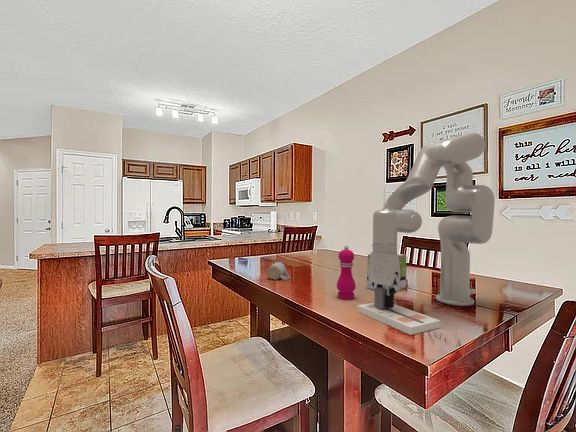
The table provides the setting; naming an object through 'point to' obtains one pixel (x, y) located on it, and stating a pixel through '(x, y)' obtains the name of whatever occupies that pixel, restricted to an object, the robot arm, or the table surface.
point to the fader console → (400, 318)
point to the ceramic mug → (277, 271)
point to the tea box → (402, 271)
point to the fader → (380, 297)
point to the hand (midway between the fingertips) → (384, 304)
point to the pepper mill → (346, 275)
